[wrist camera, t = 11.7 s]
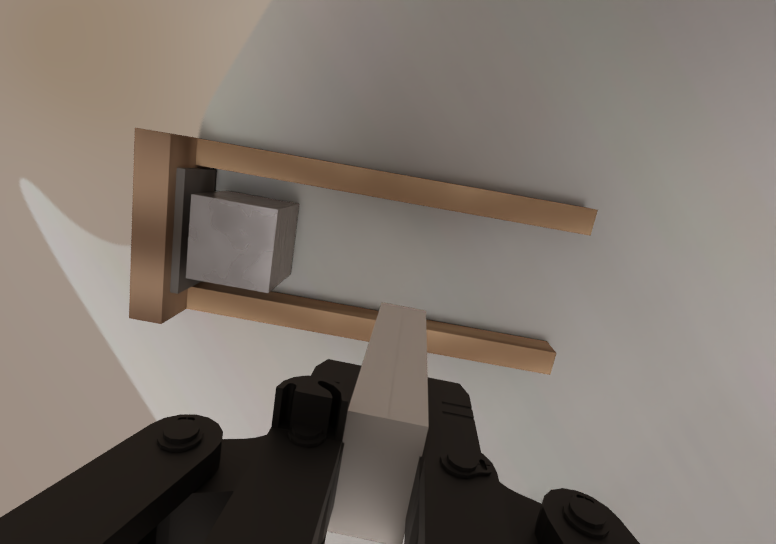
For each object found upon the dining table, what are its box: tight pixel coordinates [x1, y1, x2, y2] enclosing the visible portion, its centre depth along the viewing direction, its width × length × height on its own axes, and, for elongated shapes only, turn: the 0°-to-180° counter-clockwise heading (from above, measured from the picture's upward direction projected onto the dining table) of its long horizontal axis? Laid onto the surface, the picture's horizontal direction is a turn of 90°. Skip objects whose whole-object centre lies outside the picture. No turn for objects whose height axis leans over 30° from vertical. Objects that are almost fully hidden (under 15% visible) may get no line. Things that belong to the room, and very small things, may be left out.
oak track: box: [129, 128, 598, 375], centre depth 27 cm, size 11×27×5 cm, turn 80°
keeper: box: [186, 191, 299, 293], centre depth 27 cm, size 5×5×5 cm
